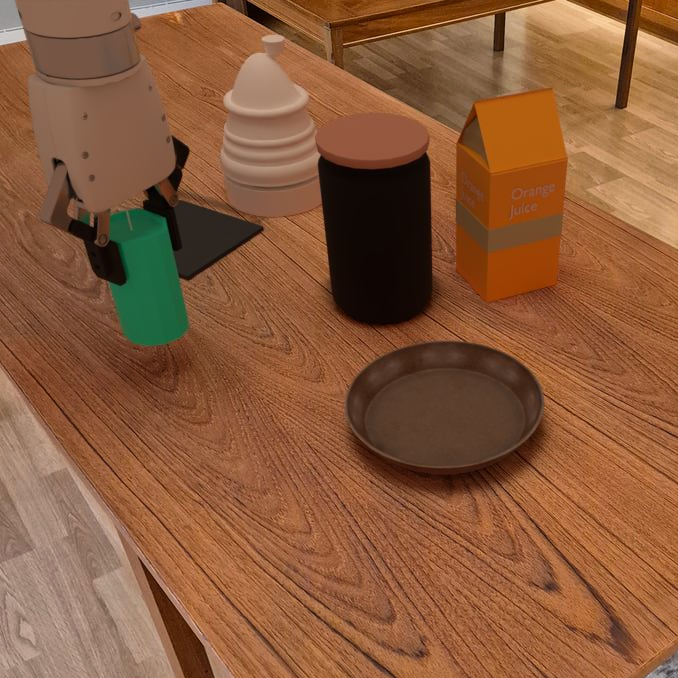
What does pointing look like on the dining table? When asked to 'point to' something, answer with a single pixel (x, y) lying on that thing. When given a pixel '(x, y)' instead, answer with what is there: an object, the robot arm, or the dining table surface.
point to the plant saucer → (444, 406)
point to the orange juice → (510, 194)
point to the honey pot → (269, 140)
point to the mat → (207, 237)
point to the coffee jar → (377, 215)
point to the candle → (147, 279)
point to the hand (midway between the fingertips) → (139, 260)
